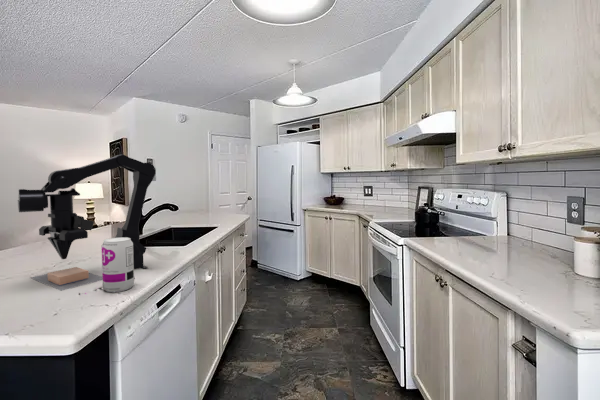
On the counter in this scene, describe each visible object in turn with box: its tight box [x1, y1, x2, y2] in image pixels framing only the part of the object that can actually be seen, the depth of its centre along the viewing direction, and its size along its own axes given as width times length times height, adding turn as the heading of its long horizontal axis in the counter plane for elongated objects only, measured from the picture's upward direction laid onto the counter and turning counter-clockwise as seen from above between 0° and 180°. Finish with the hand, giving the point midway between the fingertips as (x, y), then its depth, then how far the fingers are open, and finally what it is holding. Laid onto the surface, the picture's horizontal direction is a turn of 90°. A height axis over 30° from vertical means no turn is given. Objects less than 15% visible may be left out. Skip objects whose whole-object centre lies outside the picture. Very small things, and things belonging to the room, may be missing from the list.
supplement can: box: [101, 237, 135, 293], centre depth 95 cm, size 8×8×15 cm
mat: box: [29, 272, 103, 291], centre depth 102 cm, size 22×13×1 cm, turn 59°
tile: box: [46, 266, 90, 286], centre depth 100 cm, size 3×8×8 cm
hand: (64, 258), depth 101 cm, fingers closed
